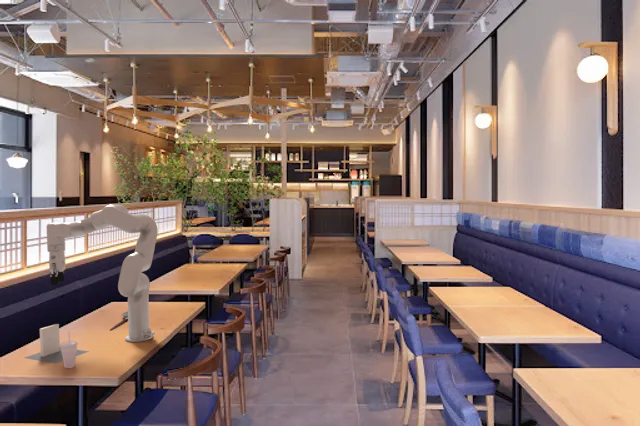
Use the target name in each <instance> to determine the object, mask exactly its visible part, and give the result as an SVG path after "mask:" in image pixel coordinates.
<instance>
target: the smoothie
mask: <svg viewBox="0 0 640 426" xmlns="http://www.w3.org/2000/svg"><path fill="white" fill-rule="evenodd" d="M67 336H68V340H67V341H63V342H61V343H60V347H61V350H62V356H63V361H62V362H63V364H64V365H63V366H64V369H71V368H72V369H73V368H74V367H75V366H76V357H77V356H76V350H78V349H77V347H78V343H79V342H78V341H77V340H71V332H70V331H68V333H67Z"/></svg>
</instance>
